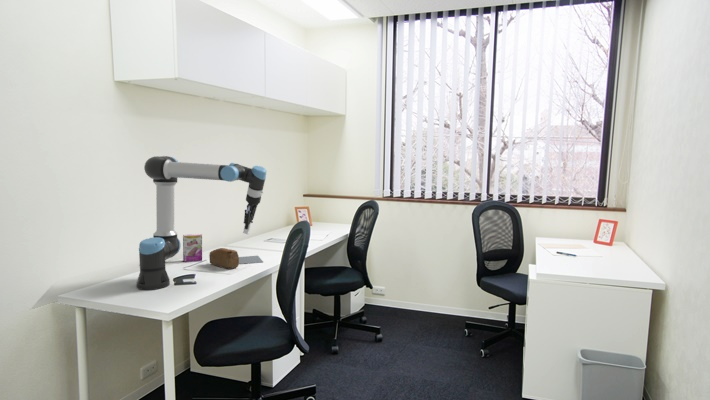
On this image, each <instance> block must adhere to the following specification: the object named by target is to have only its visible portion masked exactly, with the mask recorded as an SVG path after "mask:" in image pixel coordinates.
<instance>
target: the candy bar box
mask: <svg viewBox="0 0 710 400" xmlns="http://www.w3.org/2000/svg"><path fill="white" fill-rule="evenodd" d="M182 235H183V236H182V257H183V258H182V259H183V261H182V262H184V263H185V262H188V263H189V262H190V263H191V262H202V261H203V234H202V233H193V234H191V233H190V234H182Z"/></svg>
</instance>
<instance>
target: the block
mask: <svg viewBox="0 0 710 400" xmlns="http://www.w3.org/2000/svg"><path fill="white" fill-rule="evenodd" d="M239 257H240V256H239V254H238V251H237V250H235V249H230V248H229V249H228V248H225V247H221V248H216V249H214V250H212V251H210V252H209V257H208V258H209V263H210V265H212V266H215V267H219V268H224V269H235V268H238V267H239V265H240V264H239Z"/></svg>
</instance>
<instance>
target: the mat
mask: <svg viewBox="0 0 710 400" xmlns="http://www.w3.org/2000/svg"><path fill="white" fill-rule="evenodd" d="M247 263H249V264H259V263H264V260H262V258H261V257H260V256H259V255H249V256H247V255H246V256H239V265H245V264H247ZM247 265H248V264H247Z"/></svg>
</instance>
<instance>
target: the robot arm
mask: <svg viewBox="0 0 710 400" xmlns="http://www.w3.org/2000/svg"><path fill="white" fill-rule="evenodd" d="M143 169H144V173H145V174H146V176H148V178H150V179H152V182H153V184H155V186H156V204H155V205H156V229H155V230H156V231H155V232H154V233H153V236H152V237H149V238H145V239H143V240H141V241H140V242H139V244H138V245H139V246H138V253H139V255H138V256H139V258H138V259H139V273H138V277H137V280H136V288H137V290H138V289H139V290H144V291H145V290H146V291H150V290H151V291H152V290H159V289H164V288H167V287H168V286H170V285H171V283H170V282H171V281H170V277H169V275H168V272H167V270H166V260H168V259H171V258H173V257H175V256H177V254H178V253H179V252H180V249H181V245H182V244H181V240H180V239H179V238H178V232H176V231H175V186H176V184H178V178H180V179H197V180H212V181H225V182H230V183H231V182H234V181H240V182H241V181H242V182H244V183H248V186H247V190H246V191H247V192H246V196H245V201H246V202H247V205H246V209H244V218H243V219H244V220H243V224H244V227H243V232H242V233H243V234H246V235H249V233H250V230H251V224H253V223H254V221H253V220H254V219H255V215H256V211H257V208H258V205H259V204H260V203H261V200H262V195H263V194H264V192H263V190H264V187H265V181H266V178H267V169H266V168H265V167H263V166H260V165H253V166H252V167H248V166H244V165H242V164H239V163H235V162H231V163H229V164H228V165H226V164H212V163H211V164H209V163H195V162H194V163H193V162H182V161H181V162H179V161H178V160H177V159H176V158H174V157H173V156H168V155H166V156H165V155H163V156H152V157H150V158H148V159H147V160H146V161H145V163H144V168H143Z"/></svg>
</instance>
